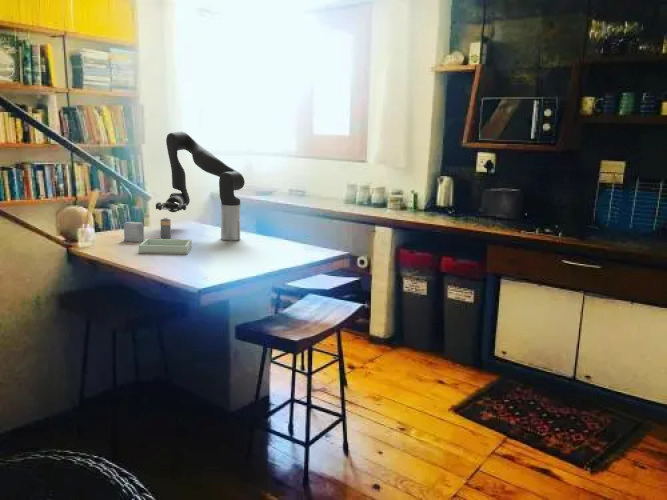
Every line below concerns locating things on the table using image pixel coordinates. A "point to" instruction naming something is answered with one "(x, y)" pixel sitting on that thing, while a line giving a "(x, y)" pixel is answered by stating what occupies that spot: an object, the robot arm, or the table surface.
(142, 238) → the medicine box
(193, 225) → the table surface
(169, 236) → the battery cell
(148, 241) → the trough
